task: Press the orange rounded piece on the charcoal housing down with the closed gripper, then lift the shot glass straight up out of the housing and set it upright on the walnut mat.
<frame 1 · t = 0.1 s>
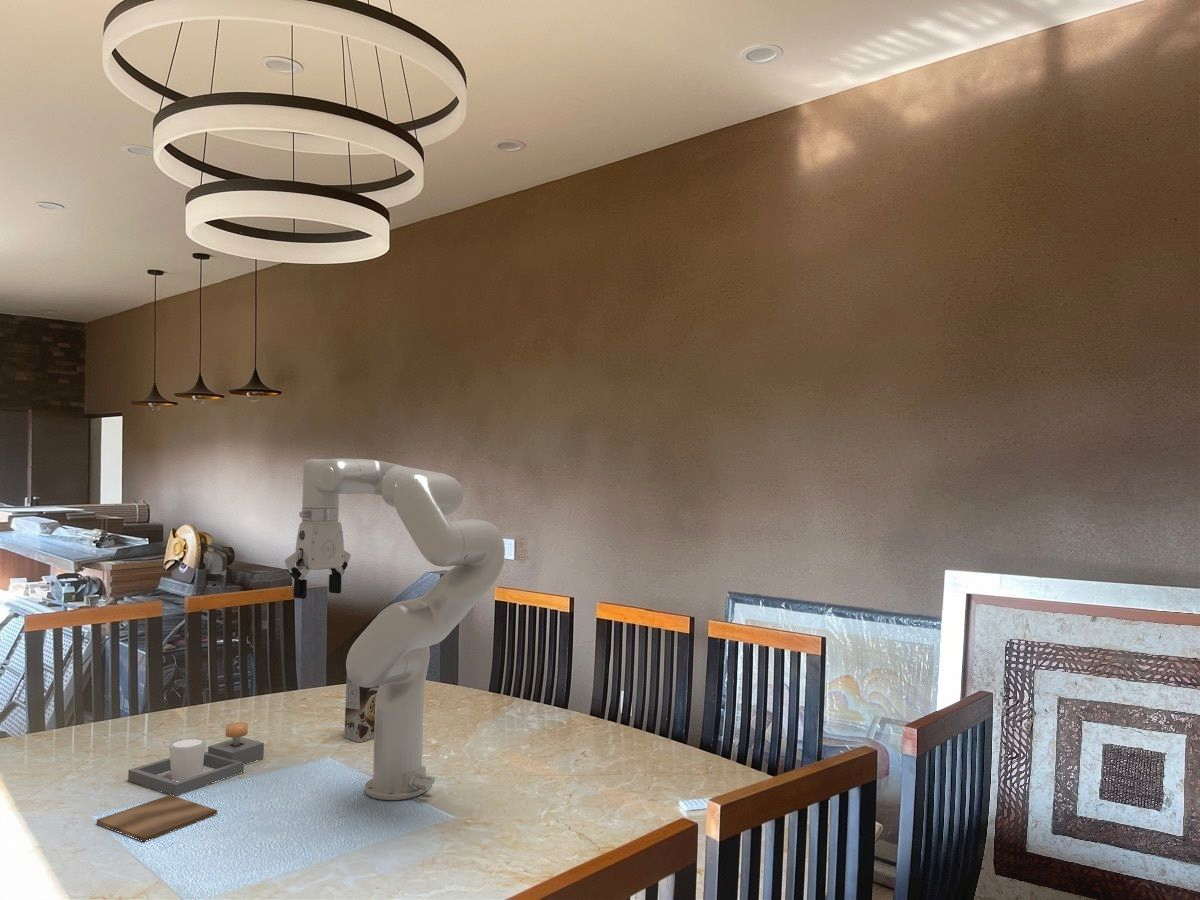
hand: (317, 595, 184), 37 cm above the table, tool pointing down, fingers open, 9 cm apart
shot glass: (186, 778, 175), resting in housing
orange rounded piece: (236, 735, 186), point 6 cm above the table, slide at 0.0 cm
walnut mat: (157, 819, 154), on the table
housing: (186, 776, 175), on the table
coffee box: (367, 736, 205), on the table
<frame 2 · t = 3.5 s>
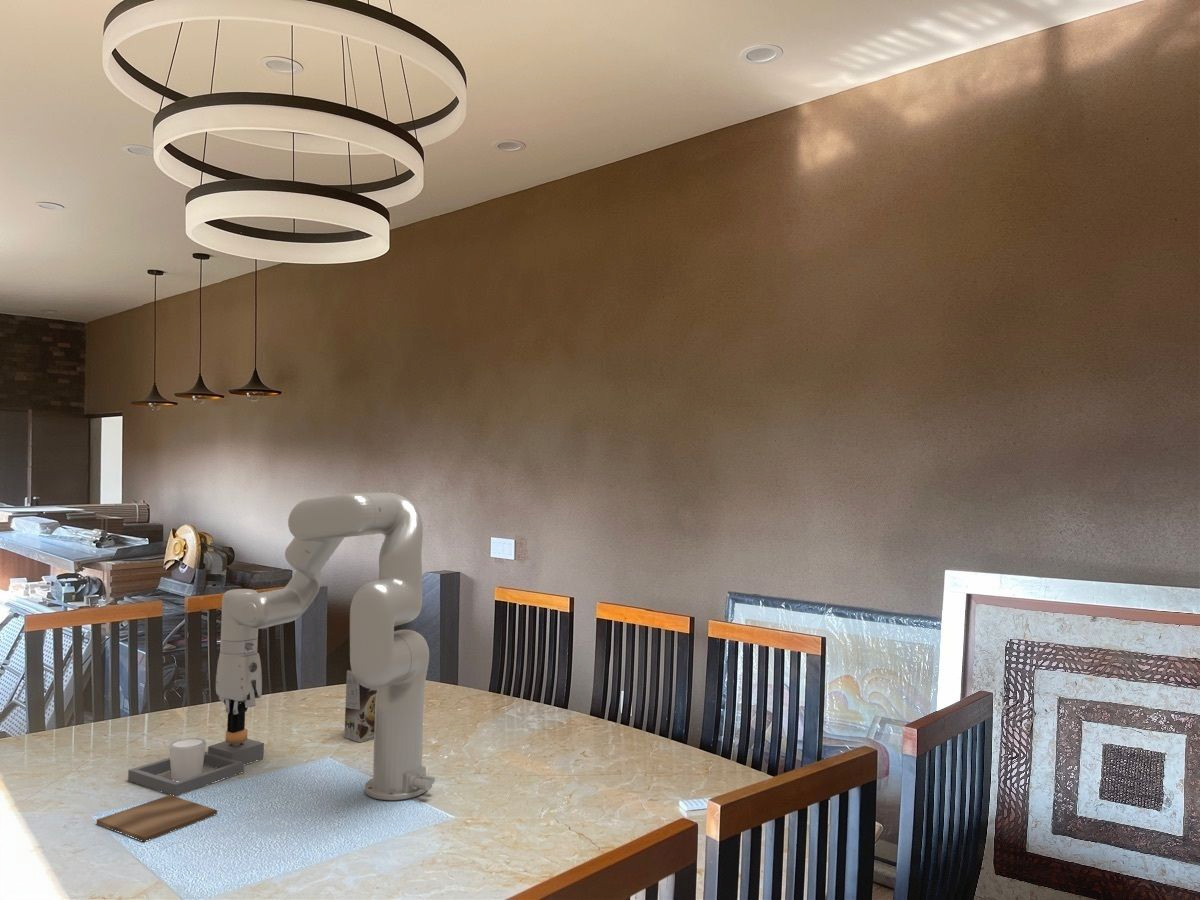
hand: (235, 730, 186), 6 cm above the table, tool pointing down, fingers closed
orange rounded piece: (236, 741, 186), point 4 cm above the table, slide at 1.3 cm, touching gripper
everything else where it was.
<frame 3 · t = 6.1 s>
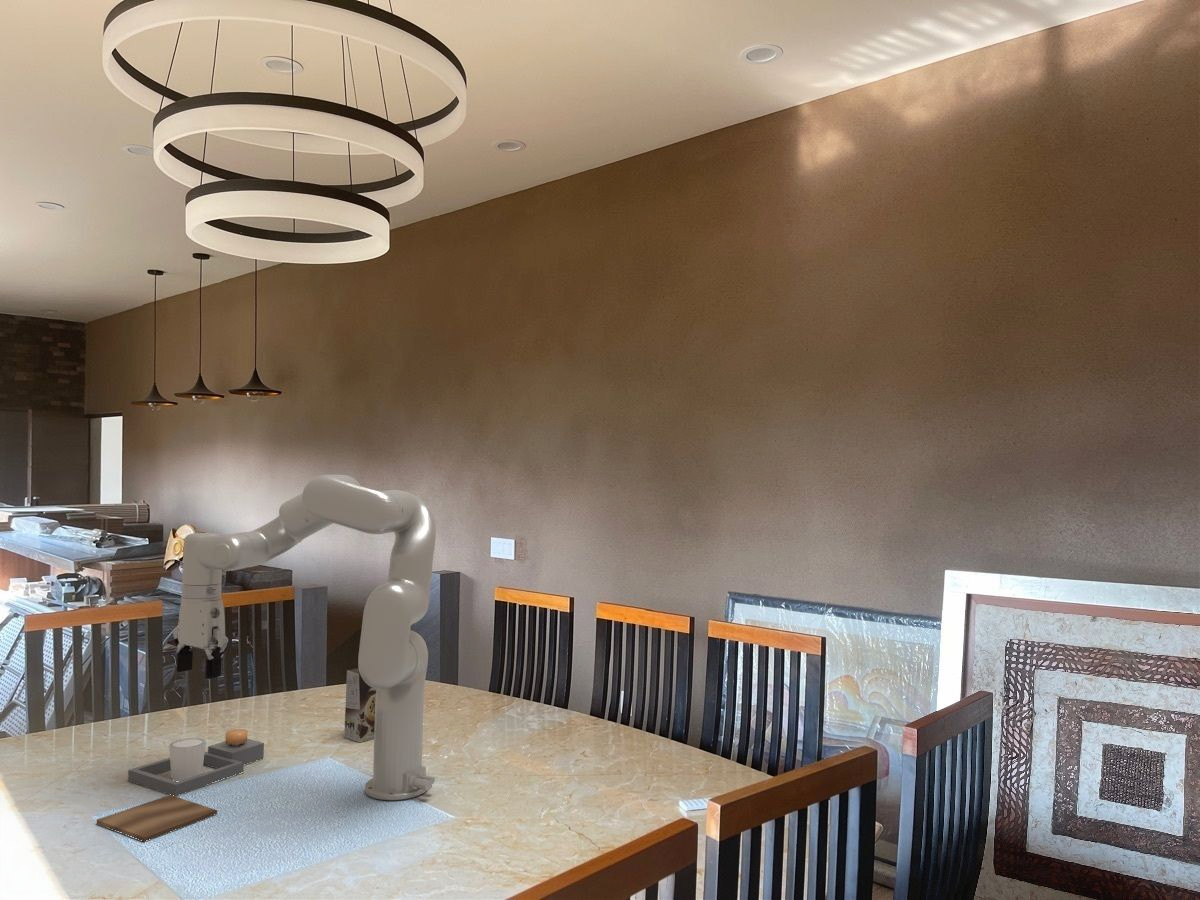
hand: (198, 674, 178), 21 cm above the table, tool pointing down, fingers open, 9 cm apart
orange rounded piece: (236, 742, 186), point 4 cm above the table, slide at 1.5 cm
everything else where it was.
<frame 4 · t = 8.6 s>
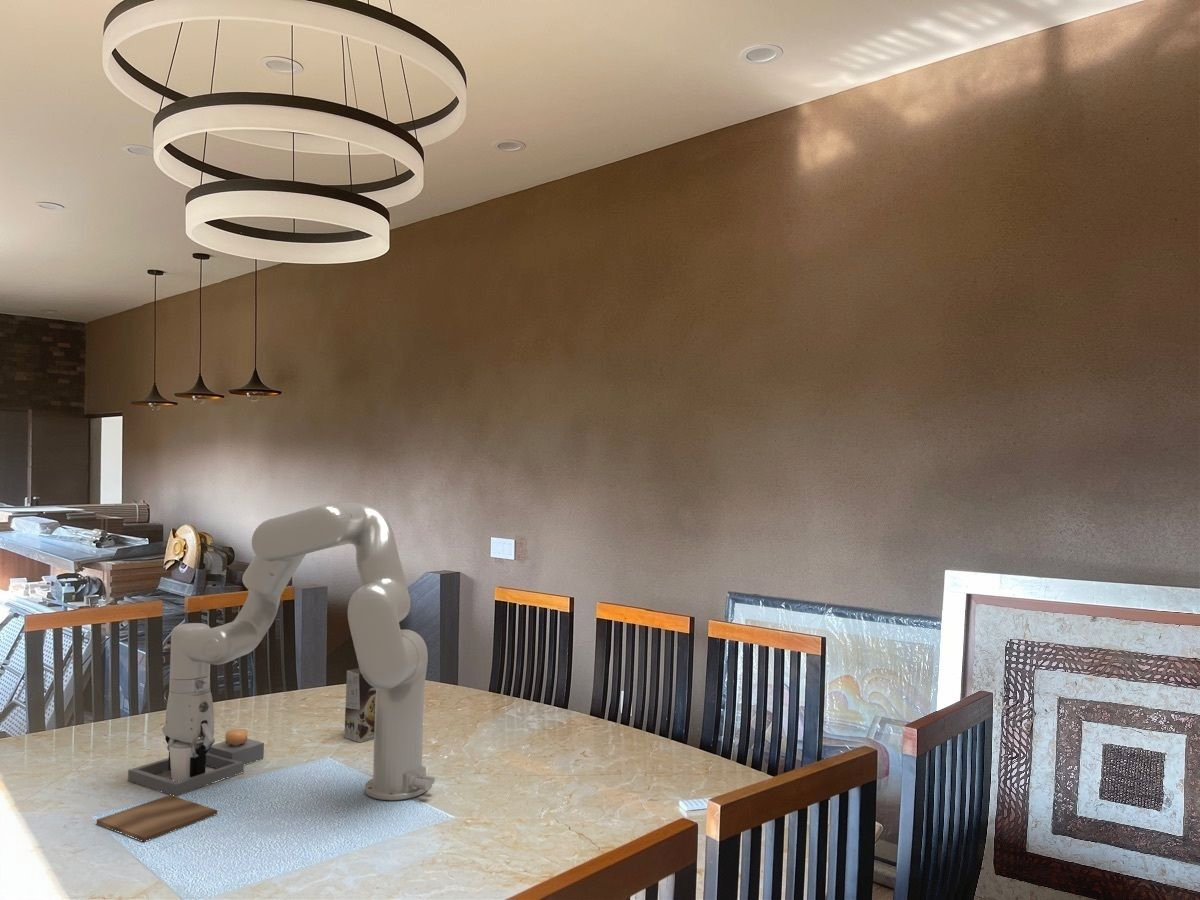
hand: (186, 771, 175), 1 cm above the table, tool pointing down, fingers closed on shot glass, 6 cm apart
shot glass: (186, 777, 175), resting in housing, touching gripper
everything else where it was.
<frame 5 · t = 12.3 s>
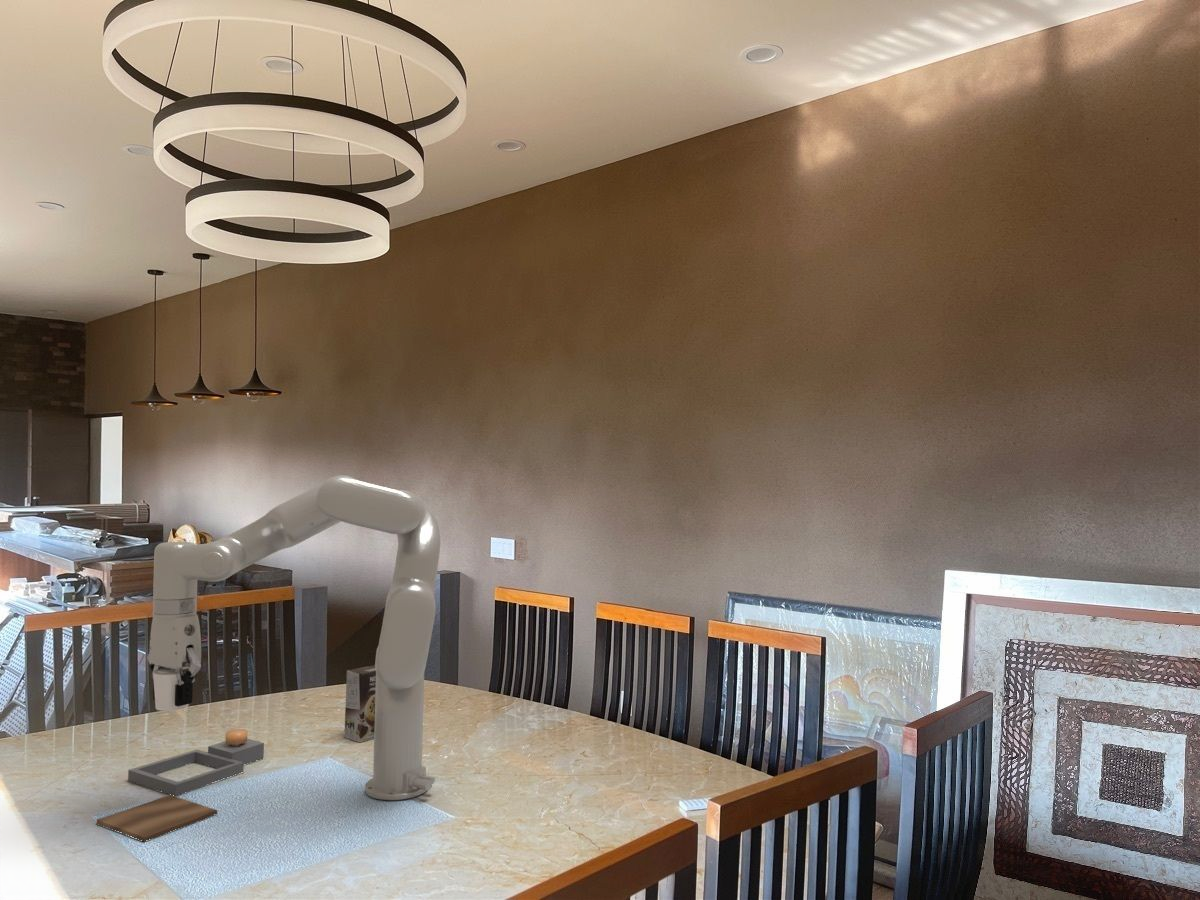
hand: (172, 701, 162), 19 cm above the table, tool pointing down, fingers closed on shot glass, 6 cm apart
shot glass: (172, 707, 162), point 18 cm above the table, touching gripper
everything else where it was.
when the fingers open (3 cm above the table, at t = 16.4 s): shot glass drops 1 cm, resting on walnut mat.
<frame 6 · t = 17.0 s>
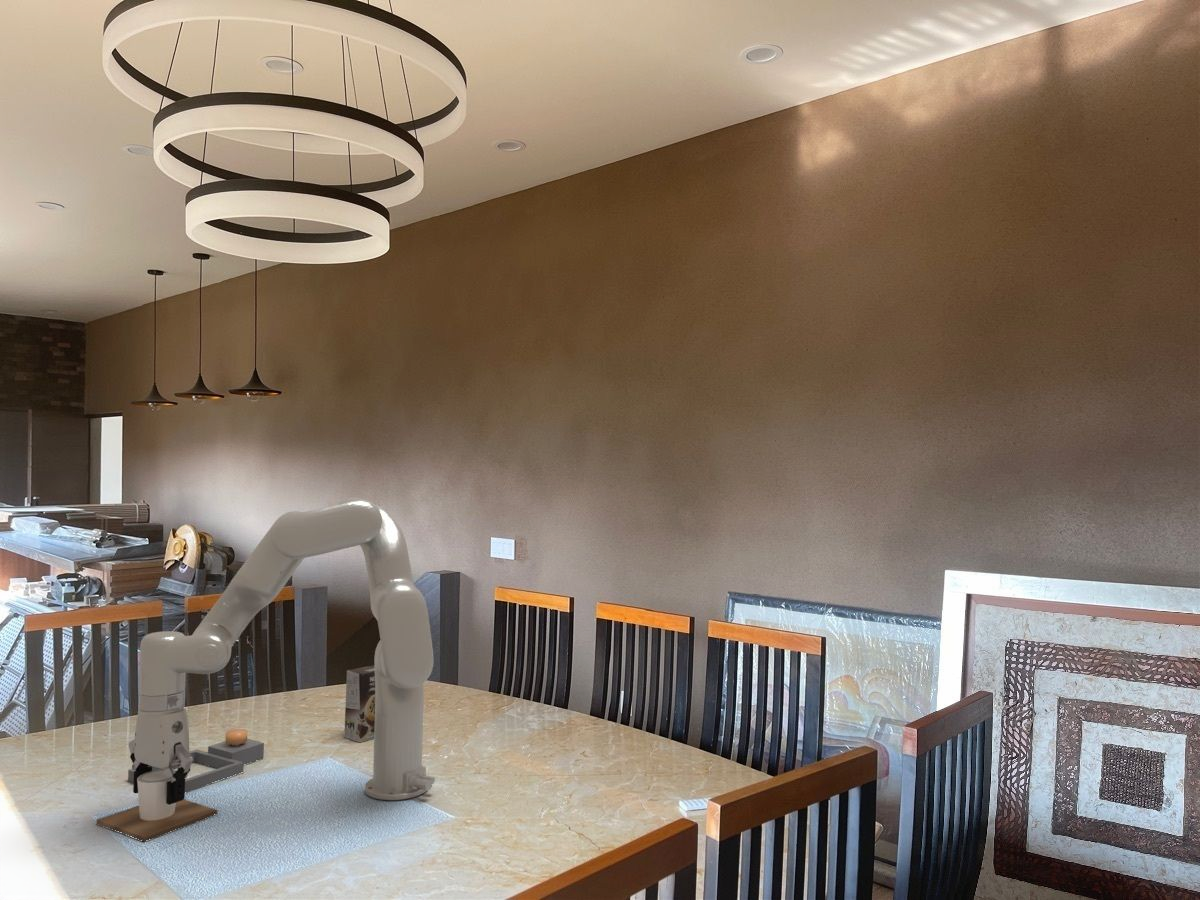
hand: (158, 796, 154), 4 cm above the table, tool pointing down, fingers open, 9 cm apart
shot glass: (157, 815, 154), point 1 cm above the table, touching walnut mat
everything else where it was.
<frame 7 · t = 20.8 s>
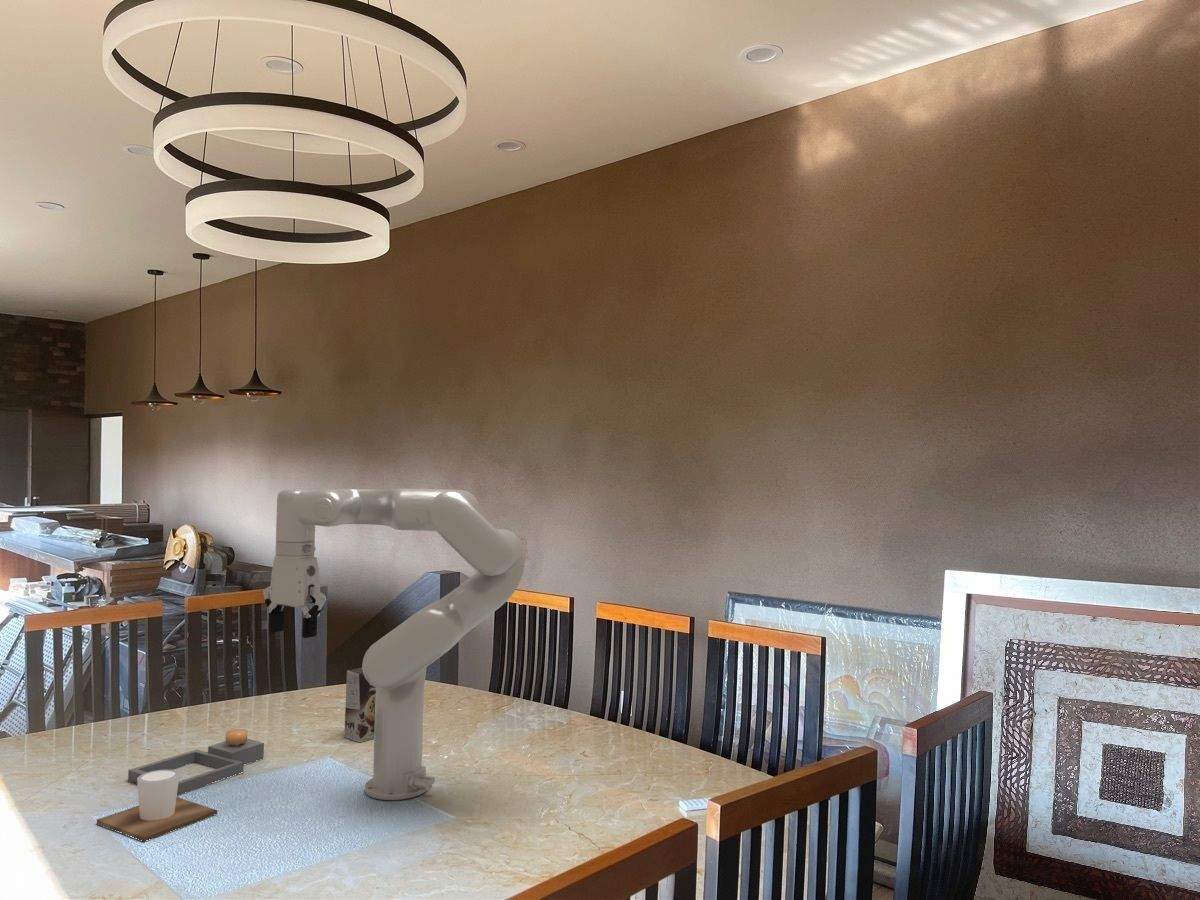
hand: (292, 634, 173), 30 cm above the table, tool pointing down, fingers open, 9 cm apart
nothing on the table moved.
at the end: orange rounded piece slide at 1.5 cm; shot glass inside the target area on the walnut mat (0.3 cm from its centre), point 0.6 cm above the walnut mat's base; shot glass tilted 0° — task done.
